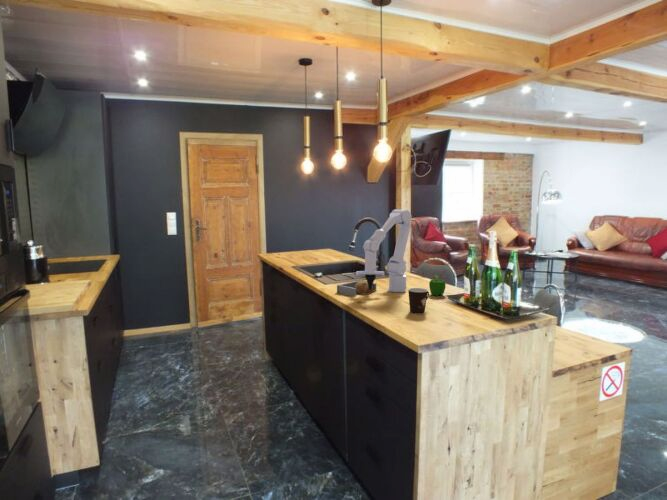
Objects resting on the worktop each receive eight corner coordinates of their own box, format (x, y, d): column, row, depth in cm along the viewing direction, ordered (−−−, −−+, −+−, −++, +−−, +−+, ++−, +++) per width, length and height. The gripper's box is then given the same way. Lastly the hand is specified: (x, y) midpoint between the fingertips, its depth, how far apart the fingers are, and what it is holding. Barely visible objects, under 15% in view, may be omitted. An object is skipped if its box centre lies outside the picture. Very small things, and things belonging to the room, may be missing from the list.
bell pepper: (445, 297, 219) (446, 278, 218) (429, 296, 221) (429, 277, 220) (444, 293, 227) (445, 275, 226) (428, 292, 229) (429, 274, 228)
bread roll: (353, 297, 232) (348, 284, 229) (366, 287, 236) (362, 275, 234) (363, 301, 224) (358, 288, 221) (378, 291, 228) (373, 278, 225)
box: (376, 290, 232) (376, 283, 232) (354, 296, 219) (354, 288, 218) (358, 287, 240) (358, 280, 240) (337, 292, 227) (337, 285, 226)
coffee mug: (412, 315, 186) (413, 292, 185) (404, 309, 194) (405, 288, 193) (436, 313, 189) (437, 291, 188) (427, 308, 198) (428, 287, 196)
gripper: (383, 262, 226) (382, 287, 228) (355, 262, 225) (355, 287, 227) (385, 264, 219) (384, 290, 221) (357, 264, 218) (356, 290, 220)
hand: (369, 288), depth 223 cm, fingers closed
